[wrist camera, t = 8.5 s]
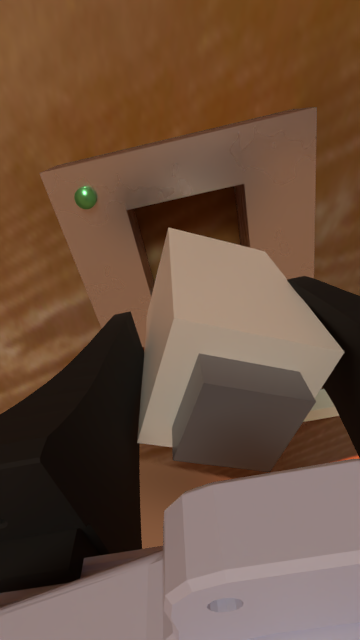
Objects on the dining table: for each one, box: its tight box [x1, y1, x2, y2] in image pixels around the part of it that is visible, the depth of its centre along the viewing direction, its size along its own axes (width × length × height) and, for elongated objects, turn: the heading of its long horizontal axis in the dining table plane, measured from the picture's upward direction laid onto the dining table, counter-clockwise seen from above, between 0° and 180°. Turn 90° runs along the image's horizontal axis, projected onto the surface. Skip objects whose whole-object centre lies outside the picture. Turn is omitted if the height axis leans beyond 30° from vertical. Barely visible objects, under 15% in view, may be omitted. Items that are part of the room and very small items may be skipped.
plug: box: [137, 227, 344, 472], centre depth 11 cm, size 4×4×8 cm
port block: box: [40, 107, 317, 348], centre depth 19 cm, size 13×11×3 cm
